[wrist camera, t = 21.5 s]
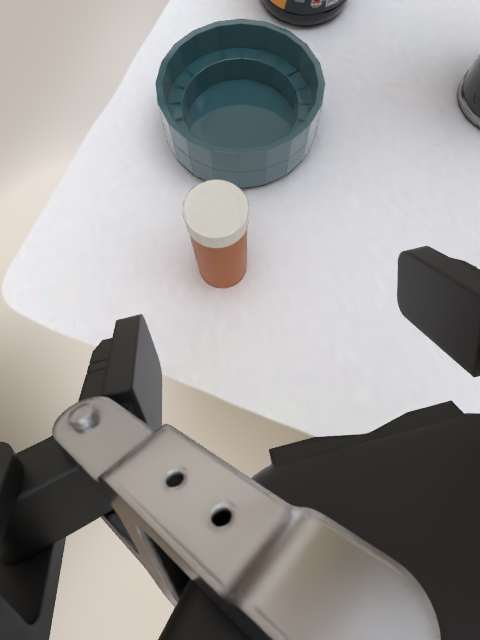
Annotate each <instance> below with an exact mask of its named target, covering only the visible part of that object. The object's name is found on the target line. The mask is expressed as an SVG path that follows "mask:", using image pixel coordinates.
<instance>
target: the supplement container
mask: <svg viewBox="0 0 480 640" xmlns="http://www.w3.org/2000/svg"><path fill="white" fill-rule="evenodd" d="M262 1H263V3H264V5H265V6H266V8H267V9H268V10H269V11H270V12H271V13H272V14H273V15H274V16H276V17H277V18H279V19H281V20H283V21H285V22H288V23H291V24H296V25H314V24H319V23H322V22H325V21H327V20H329V19H331V18H333V17H334V16H336V15H337V14H338V13H339V12H340V11H341V10H342V9H343V8H344V6H345V5H346V3H347V1H348V0H262Z"/></svg>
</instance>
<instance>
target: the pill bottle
mask: <svg viewBox="0 0 480 640" xmlns="http://www.w3.org/2000/svg"><path fill="white" fill-rule="evenodd" d="M183 217H184V221H185V224H186V228H187V230H188V232H189V234H190V237H191V241H192V245H193V248H194V252H195V256H196V259H197V263H198V267H199V271H200V274H201V276H202V278H203V279H204V280H205V281H206V282H207V283H208V284H210V285H211V286H214V287H217V288H227V287H231V286H233V285H235V284H237V283H238V282H239V281H240V280H241V279H242V278H243V276H244V274H245V272H246V259H247V227H248V222H249V204H248V200H247V198H246V196H245V194H244V193H243V191H242V190H241V189H240V188H239V187H237V186H236V185H234V184H233V183H230V182H228V181H224V180H209V181H205V182H202V183H200V184H198V185H197V186H195V187H194V188H193V189H192V190H191V191H190V192H189V193H188V194H187V196H186V198H185V200H184V203H183Z"/></svg>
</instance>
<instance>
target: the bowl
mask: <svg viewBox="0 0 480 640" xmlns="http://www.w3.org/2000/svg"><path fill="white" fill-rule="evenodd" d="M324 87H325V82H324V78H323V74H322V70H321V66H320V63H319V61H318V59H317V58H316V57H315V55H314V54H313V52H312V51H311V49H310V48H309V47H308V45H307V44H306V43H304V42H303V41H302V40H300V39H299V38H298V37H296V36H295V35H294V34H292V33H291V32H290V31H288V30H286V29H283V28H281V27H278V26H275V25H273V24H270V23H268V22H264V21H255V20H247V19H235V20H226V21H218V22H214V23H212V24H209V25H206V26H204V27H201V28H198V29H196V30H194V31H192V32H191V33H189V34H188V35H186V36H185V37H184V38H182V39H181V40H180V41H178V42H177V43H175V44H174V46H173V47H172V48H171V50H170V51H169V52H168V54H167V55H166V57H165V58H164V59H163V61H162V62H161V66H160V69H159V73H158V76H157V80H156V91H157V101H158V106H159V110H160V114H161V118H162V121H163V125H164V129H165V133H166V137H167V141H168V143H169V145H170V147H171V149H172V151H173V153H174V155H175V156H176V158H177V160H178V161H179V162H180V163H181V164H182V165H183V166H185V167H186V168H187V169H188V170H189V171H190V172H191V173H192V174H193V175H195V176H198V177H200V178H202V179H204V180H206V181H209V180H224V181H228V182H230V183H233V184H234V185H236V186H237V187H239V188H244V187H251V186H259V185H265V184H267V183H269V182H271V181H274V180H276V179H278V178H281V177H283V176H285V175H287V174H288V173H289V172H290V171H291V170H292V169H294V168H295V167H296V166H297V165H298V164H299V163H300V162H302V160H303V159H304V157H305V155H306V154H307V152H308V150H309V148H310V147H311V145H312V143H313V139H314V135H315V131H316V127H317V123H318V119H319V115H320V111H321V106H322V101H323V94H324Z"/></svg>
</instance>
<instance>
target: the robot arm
mask: <svg viewBox="0 0 480 640" xmlns="http://www.w3.org/2000/svg"><path fill="white" fill-rule="evenodd" d="M458 101H459V104H460V107H461V109H462V111H463V112H464V114H465V115H466V116H467V118H468V119H469V120H470V121H471V122H472V123H474V124H475V125H476V126H478V127H479V128H480V54H479V55H478V57H477V59H476V60H475V62H474V63H473V65H472V67H471V68H470V69H469V70H468V71H467V73H466V74H465V76H464V77H463V79H462V81H461V82H460V85H459V88H458ZM397 300H398V305H399V308H400V311H401V312H402V314H403V315H404V316H405V317H406V318H407V319H408V320H409V321H410V322H411V323H412V324H414V325H415V326H416V327H417V328H418V329H419V330H420V331H422V332H423V333H424V334H425V335H426V336H427V337H428V338H430V339H431V340H432V341H433V342H434V343H435V344H436V345H438V346H439V347H440V348H441V349H442V350H443V351H444V352H446V353H447V354H448V355H449V356H450V357H451V358H452V359H454V360H455V361H456V362H457V363H458V364H459V365H461V366H462V367H463V368H464V369H465V370H466V371H467V372H469V373H470V374H471V375H472V376H473V377H477V376H480V269H477V267H475V266H473V265H471V264H469V263H467V262H465V261H462V260H458V259H454V258H450V257H448V256H446V255H444V254H442V253H440V252H438V251H436V250H434V249H433V248H431V247H429V246H424V247H420V248H415V249H411V250H407V251H403V252H401V253H400V255H399V258H398V288H397ZM52 434H53V435H52V436H51V437H49V438H48V439H45V440H44V441H42V442H40V443H37V444H35V445H33V446H31V447H29V448H27V449H25V450H23V451H21V452H18V453H17V454H16V453H15V452H14V450H13V449H12V448H11V446H10V445H9V444H7V443H5V442H0V640H49V636H50V630H51V624H52V617H53V612H54V606H55V600H56V594H57V588H58V581H59V575H60V569H61V564H62V557H63V551H64V545H65V539H66V536H68V535H70V534H71V533H73V532H75V531H77V530H78V529H80V528H82V527H84V526H85V525H87V524H89V523H91V522H92V521H94V520H96V519H97V518H99V517H101V518H102V519H103V520H104V521H105V523H106V524H107V525H108V526H109V527H110V528H111V529H112V531H113V532H114V533H115V534H116V535H117V536H118V537H119V539H120V540H121V541H122V542H123V543H124V544H125V545H126V546H127V548H128V549H129V550H130V551H131V552H132V553H133V554H134V556H135V557H136V558H137V559H138V560H139V561H140V562H141V563H142V565H143V566H144V567H145V568H146V570H147V571H148V572H149V574H150V575H151V576H152V578H153V579H154V581H155V582H156V584H157V585H158V587H159V588H160V589H161V591H162V592H163V593H164V595H165V596H166V597H167V598H168V600H169V601H170V602H171V603H172V604H173V605H174V607H175V609H174V611H173V613H172V614H171V616H170V618H169V620H168V622H167V624H166V626H165V628H164V630H163V632H162V633H161V635H160V637H159V639H158V640H480V414H473V413H465V414H464V413H463V412H462V411H461V410H460V409H459V408H458V407H457V406H456V405H455V404H454V403H453V402H452V401H448V402H444V403H441V404H437V405H433V406H429V407H426V408H422V409H418V410H414V411H411V412H407V413H405V414H404V415H402V416H400V417H398V418H396V419H394V420H392V421H391V422H389V423H387V424H385V425H383V426H381V427H379V428H378V429H376V430H374V431H372V432H370V433H367V434H360V435H343V436H326V437H313V438H310V439H306V440H302V441H299V442H295V443H291V444H287V445H283V446H280V447H276V448H272V449H269V452H270V457H271V462H272V465H270V466H268V467H266V468H264V469H263V470H262V471H260V472H259V473H257V474H256V475H254V476H253V477H252V478H249V477H248V476H246V475H245V474H243V473H242V472H240V471H239V470H237V469H236V468H234V467H233V466H231V465H230V464H228V463H227V462H225V461H224V460H222V459H221V458H219V457H218V456H216V455H215V454H213V453H212V452H210V451H209V450H207V449H206V448H204V447H203V446H201V445H200V444H198V443H196V442H195V441H194V440H192V439H191V438H189V437H188V436H186V435H185V434H183V433H182V432H180V431H179V430H177V429H176V428H174V427H173V426H171V425H168V424H164V425H163V426H162V372H161V366H160V362H159V358H158V355H157V352H156V350H155V347H154V344H153V341H152V338H151V335H150V333H149V330H148V327H147V324H146V321H145V319H144V317H143V315H142V314H140V315H136V316H132V317H128V318H124V319H120V320H117V321H116V324H115V329H114V333H113V338H110V339H106V340H102V342H101V343H100V344H99V345H98V346H97V347H96V349H95V350H94V351H93V353H92V357H91V360H90V365H89V367H88V370H87V374H86V377H85V380H84V384H83V387H82V391H81V394H80V398H79V401H78V403H75V404H74V405H72V406H70V407H69V408H68V409H66V410H65V411H64V412H63V413H62V414H61V415H60V416H59V417H58V418H57V420H56V421H55V423H54V425H53V428H52Z"/></svg>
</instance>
